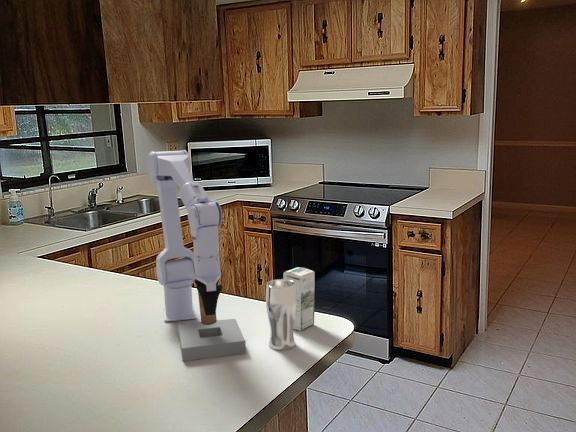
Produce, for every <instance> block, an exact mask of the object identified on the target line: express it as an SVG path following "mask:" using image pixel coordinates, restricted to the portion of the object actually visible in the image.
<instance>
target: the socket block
mask: <svg viewBox="0 0 576 432" xmlns="http://www.w3.org/2000/svg"><path fill="white" fill-rule="evenodd" d="M177 326H178V327H177V329H178V341H179V345H180V347H179V348H180V352H181V360H182V362H187V361H194V360H203V359H211V358H212V359H213V358H220V357H226V356H236V355H242V354H246V340H245V337H244V335H243V333H242V331H241V328H240V326H239V324H238V322H237V320H236V318H228V319H219V320H218V319H217V322H216V323H214V324H212V325H203V324H201V321H200V322H191V323H182V324H177Z"/></svg>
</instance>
